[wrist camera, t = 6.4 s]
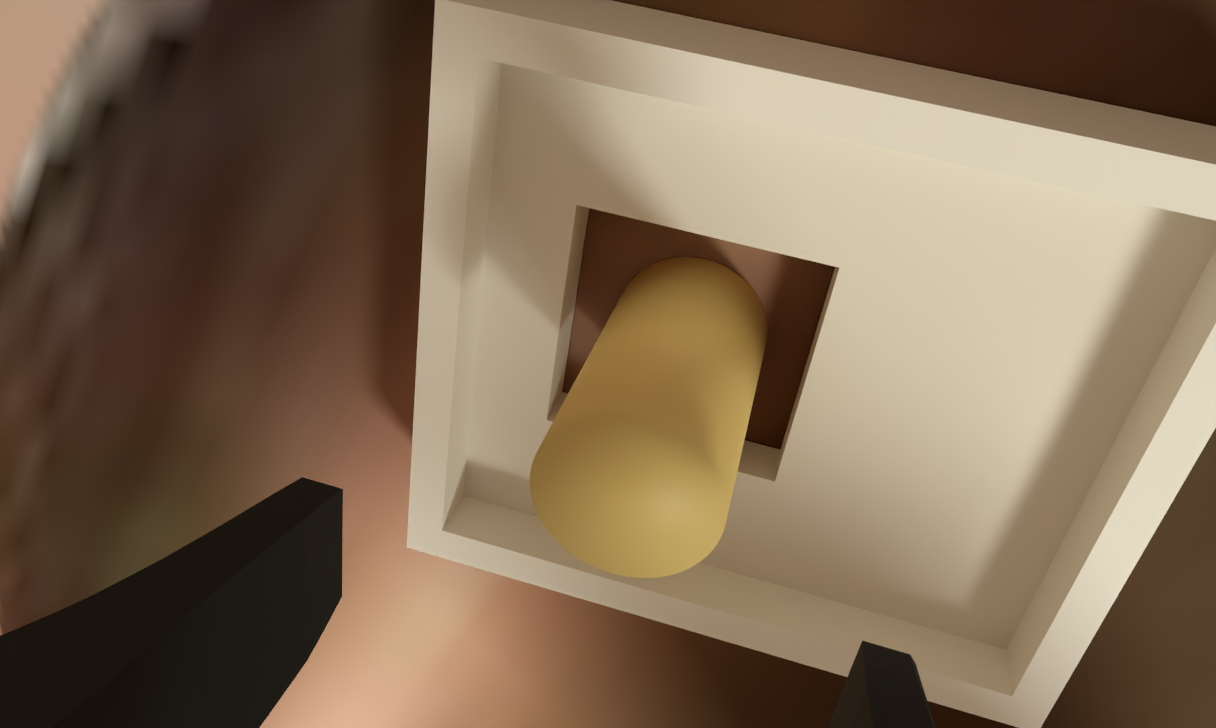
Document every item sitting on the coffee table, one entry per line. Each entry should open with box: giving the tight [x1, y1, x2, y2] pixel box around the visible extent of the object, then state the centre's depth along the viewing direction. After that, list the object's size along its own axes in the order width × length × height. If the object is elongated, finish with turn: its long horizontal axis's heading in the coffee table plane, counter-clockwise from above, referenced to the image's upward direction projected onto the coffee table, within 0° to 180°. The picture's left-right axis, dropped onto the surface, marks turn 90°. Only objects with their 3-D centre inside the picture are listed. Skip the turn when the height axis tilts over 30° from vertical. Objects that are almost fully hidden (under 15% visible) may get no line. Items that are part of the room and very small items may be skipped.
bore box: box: [407, 0, 1216, 728], centre depth 19 cm, size 14×12×2 cm
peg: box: [529, 257, 768, 578], centre depth 18 cm, size 3×3×6 cm
